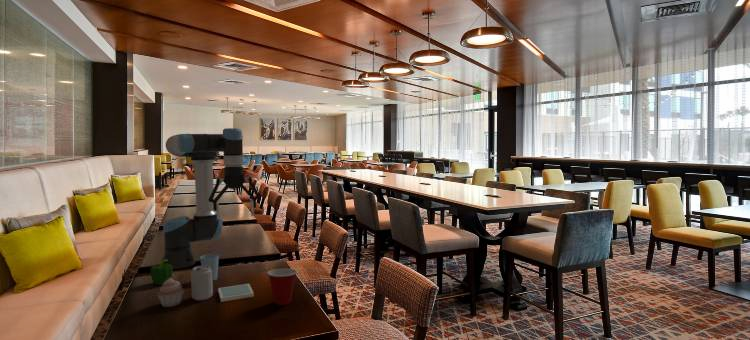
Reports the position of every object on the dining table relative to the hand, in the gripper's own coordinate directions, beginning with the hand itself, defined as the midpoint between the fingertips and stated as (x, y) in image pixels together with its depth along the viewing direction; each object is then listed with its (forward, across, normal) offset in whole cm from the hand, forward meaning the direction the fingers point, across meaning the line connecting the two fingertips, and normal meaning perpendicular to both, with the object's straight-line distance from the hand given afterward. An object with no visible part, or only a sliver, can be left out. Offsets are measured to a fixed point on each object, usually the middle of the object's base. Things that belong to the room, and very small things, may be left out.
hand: (235, 217), depth 170 cm
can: (+29, -14, -8) cm, 33 cm away
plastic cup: (+29, +13, -27) cm, 42 cm away
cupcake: (+29, -25, -10) cm, 39 cm away
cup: (+29, -10, +14) cm, 34 cm away
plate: (+29, -2, -10) cm, 31 cm away
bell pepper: (+29, -29, +18) cm, 45 cm away
